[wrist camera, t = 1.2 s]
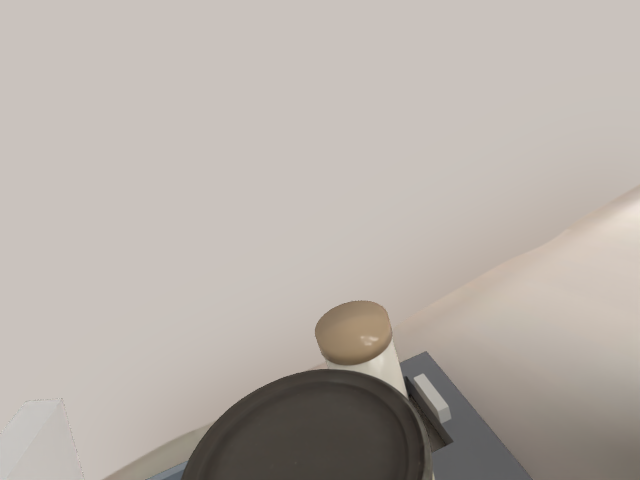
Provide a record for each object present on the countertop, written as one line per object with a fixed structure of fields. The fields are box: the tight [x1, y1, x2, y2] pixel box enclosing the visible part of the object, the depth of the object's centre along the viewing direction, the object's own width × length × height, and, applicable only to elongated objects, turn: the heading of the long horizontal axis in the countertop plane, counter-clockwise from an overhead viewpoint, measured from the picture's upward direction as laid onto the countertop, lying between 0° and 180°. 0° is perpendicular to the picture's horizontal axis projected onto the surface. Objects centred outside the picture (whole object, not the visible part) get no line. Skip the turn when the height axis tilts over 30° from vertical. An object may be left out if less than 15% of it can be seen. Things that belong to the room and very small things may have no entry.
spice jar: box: [315, 301, 409, 400], centre depth 35 cm, size 5×5×11 cm
